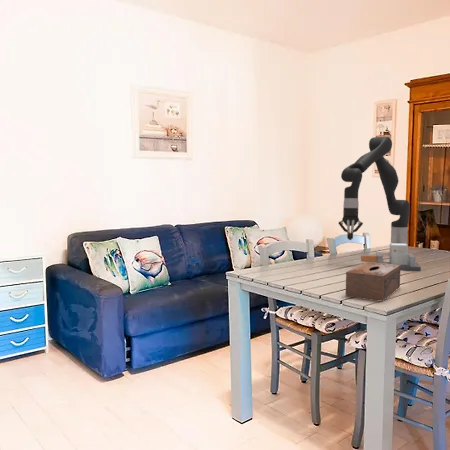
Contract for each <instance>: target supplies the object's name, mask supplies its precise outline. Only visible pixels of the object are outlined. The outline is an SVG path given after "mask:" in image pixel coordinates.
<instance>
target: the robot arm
mask: <svg viewBox="0 0 450 450" xmlns="http://www.w3.org/2000/svg"><path fill="white" fill-rule="evenodd" d="M392 147H393V140H392V138H391V137H389V136H375V137H371V138H370V140H369V141H368V148H369V151H368V152H367V153H364V154H363V155H361V156H360V157H359V158H358V159H357V160H356V161H355V162H354V163H352V164H350V165H348V166H346V167H345V168H344V169H343V170H342V172H341V180H342V181H343V182H346V183H351V184H350V186H346V187H345V188H344V193H343V206H342V207H343V208H342V209H343V213H342V215H343V216H342V218H341V219H342V220H340V221H338V223H337V224H338V226H340V227H341V229H342V230H343V232H344V233H347V236H346V238H347V240H348V241H352V240H353V238H354V233H357V231H358V230H359V229H360V228H361V227H362V226H363V225H364V223H363V222H362V221H361V220H360V219H359V190H360V185H361V184H362V183H361V182H362V179H363V174H364V173H365V172H366V171H367V170H368V169H369V168H370V167H371V166H372V164H374V163H375V167H376V169H377V171H378V175H379V178H380V181H381V185H382V186H383V191H384V194H385V198H386V203H387V208H388V212H389V214H390V215H393V216H399V218H398V219H397V220H393V221H391V224H390V243H398V244H407V245H408V230H409V225H408V224H409V223H410V210H411V207H410V201H409V200H407V199H397V198H396V195H395V192H396V189H397V187H398V185H399V177H398V173H397V170H396V168H395V167H394V166H393V164H391V163H390V162H389V161H387V159H386V158H385V157H384V156H385V155H387V154H388V153H390V152H391V150H392ZM344 225H345V226H346V227H345V226H344ZM356 225H357V226H356ZM355 226H356V227H355ZM354 227H355V228H354Z"/></svg>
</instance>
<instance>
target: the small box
mask: <svg viewBox="0 0 450 450" xmlns="http://www.w3.org/2000/svg"><path fill="white" fill-rule="evenodd" d="M408 253H409V245H408V243H407V244H398V243H391V242H389V258H388V259H389V261H388V262H389V263H390V264H394V265H407V264H408Z"/></svg>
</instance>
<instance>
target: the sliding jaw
mask: <svg viewBox="0 0 450 450" xmlns="http://www.w3.org/2000/svg"><path fill="white" fill-rule="evenodd" d="M360 262H364V263H365V262H376V263H383V262H384V255H383V254H382V252H381V251H376V252H375V255H374V254H373V255H372V254H371V255H370V254H360Z"/></svg>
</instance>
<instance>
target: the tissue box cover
mask: <svg viewBox="0 0 450 450" xmlns="http://www.w3.org/2000/svg"><path fill="white" fill-rule="evenodd" d="M400 266H401V265H394V264H384V263H373V262H364V263H361V264H359V265H357V266H355V267H353V268H352V269H351V268H350V269H349V270H346V272H345V297H350V298H357V299H363V298H365V300H370V299H373V300H372V301H377V300H382V301H381V302H384V301H385V300H386V299H387V297H388V296H389V295H390V294H391V295H392V293H393V292H394V291H395V290H396V289H398V288H399V287H400V288H401V270H400ZM400 288H399V289H400ZM399 289H398V290H399ZM396 291H397V290H396ZM396 291H395V292H396ZM395 292H394V293H395ZM394 293H393V294H394ZM391 295H390V296H391ZM390 296H389V297H390ZM389 297H388V298H389ZM385 298H386V299H385ZM384 299H385V300H384ZM383 300H384V301H383Z"/></svg>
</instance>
